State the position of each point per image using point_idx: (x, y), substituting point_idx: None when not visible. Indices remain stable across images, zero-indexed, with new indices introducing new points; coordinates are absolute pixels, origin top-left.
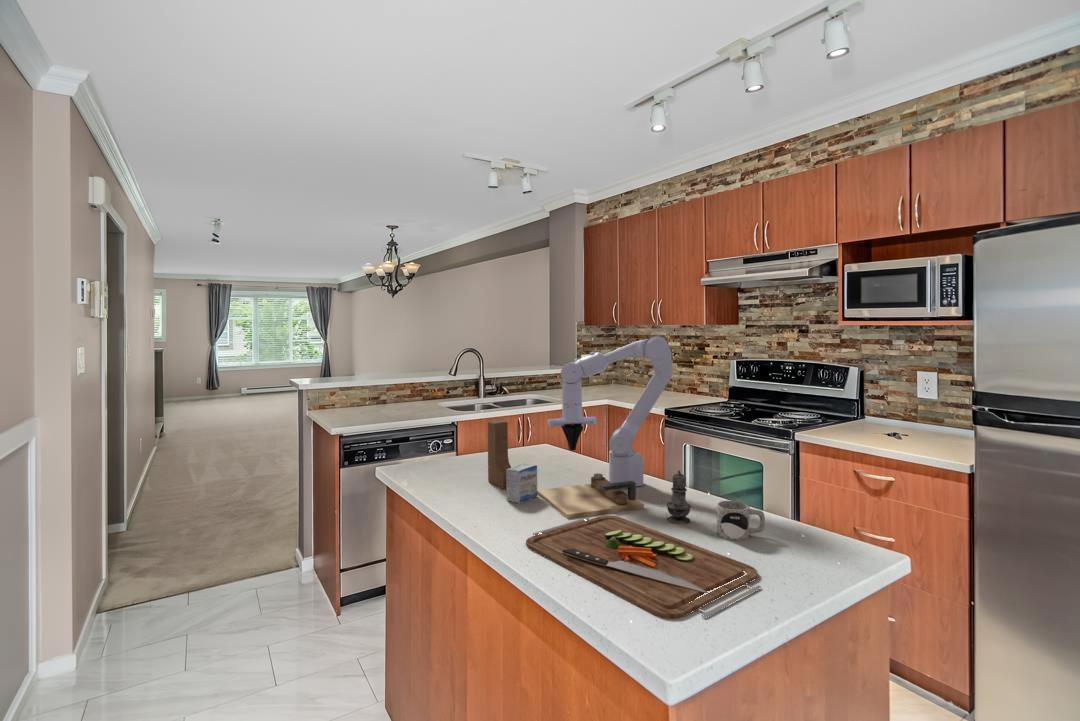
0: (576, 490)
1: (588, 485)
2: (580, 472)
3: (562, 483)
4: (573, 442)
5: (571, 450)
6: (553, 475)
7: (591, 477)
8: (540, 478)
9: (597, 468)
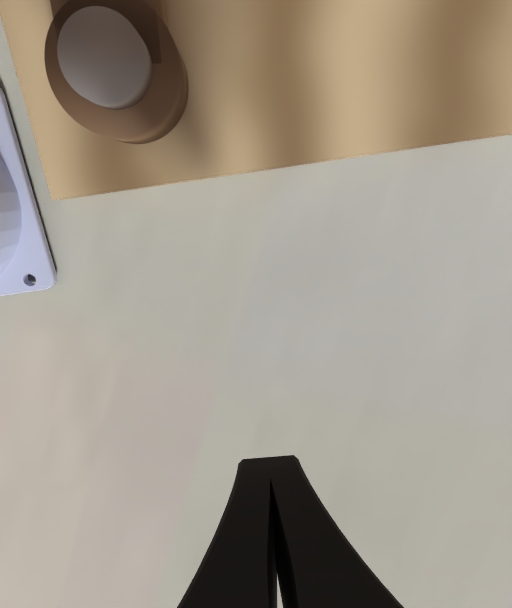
0: (323, 33)
1: (197, 144)
2: (156, 500)
3: (329, 313)
4: (282, 525)
5: (292, 456)
6: (328, 476)
7: (169, 102)
8: (420, 436)
9: (36, 553)
